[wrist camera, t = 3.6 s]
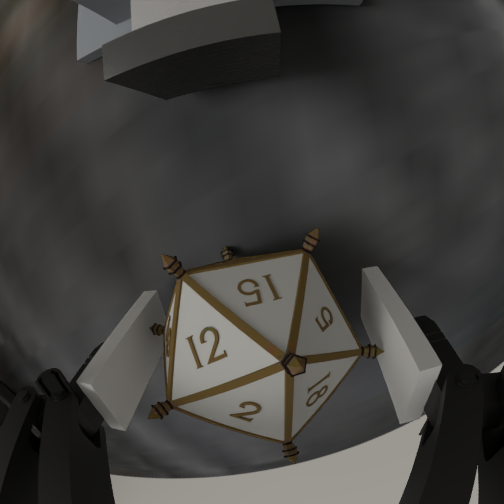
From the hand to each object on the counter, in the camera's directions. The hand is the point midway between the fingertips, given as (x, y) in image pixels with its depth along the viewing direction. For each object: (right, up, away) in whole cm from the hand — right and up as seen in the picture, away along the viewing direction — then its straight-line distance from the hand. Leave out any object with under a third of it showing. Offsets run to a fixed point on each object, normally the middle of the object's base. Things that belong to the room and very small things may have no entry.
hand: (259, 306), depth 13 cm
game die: (0, +1, +1) cm, 1 cm away
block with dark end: (-1, +13, -5) cm, 14 cm away
